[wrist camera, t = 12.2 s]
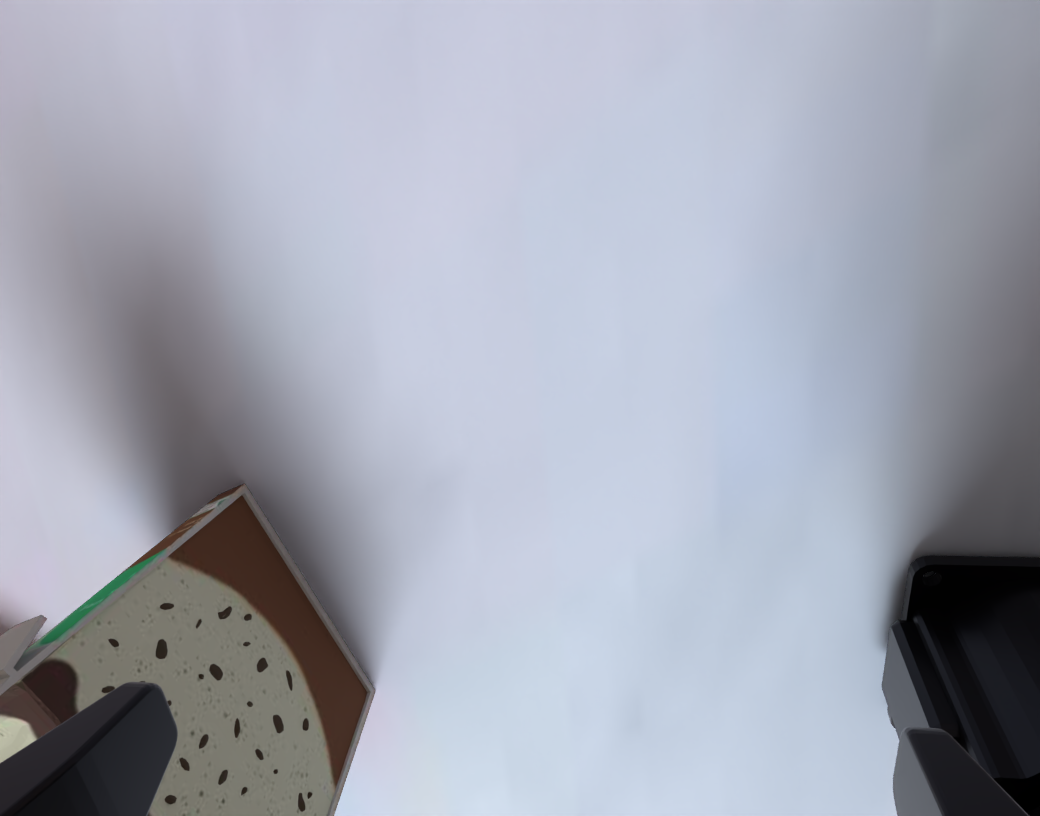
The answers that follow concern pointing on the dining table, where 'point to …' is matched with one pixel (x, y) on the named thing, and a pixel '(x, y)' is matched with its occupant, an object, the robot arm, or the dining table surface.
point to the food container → (207, 669)
